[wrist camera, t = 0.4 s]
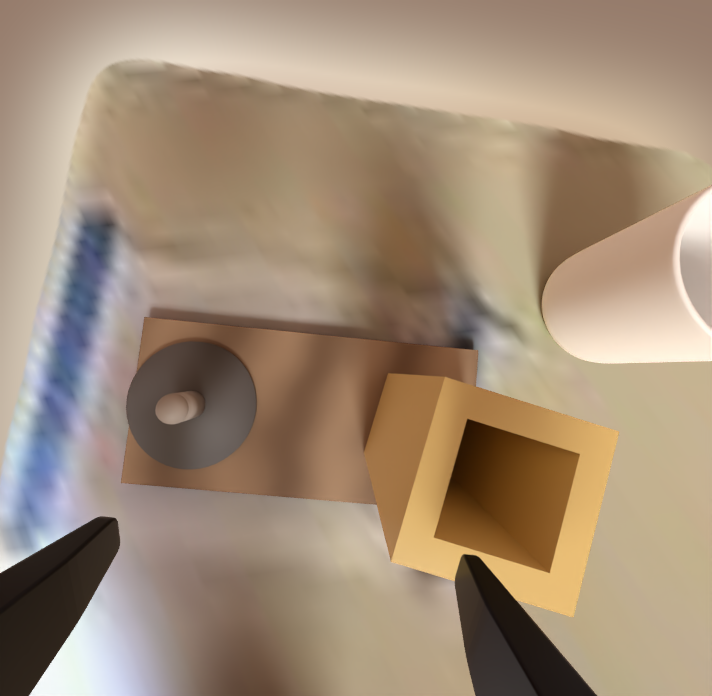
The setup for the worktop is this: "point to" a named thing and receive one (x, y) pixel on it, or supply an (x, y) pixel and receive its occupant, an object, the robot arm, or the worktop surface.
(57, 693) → the worktop surface
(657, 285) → the mug
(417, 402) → the sleeve
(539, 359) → the worktop surface
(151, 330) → the board
